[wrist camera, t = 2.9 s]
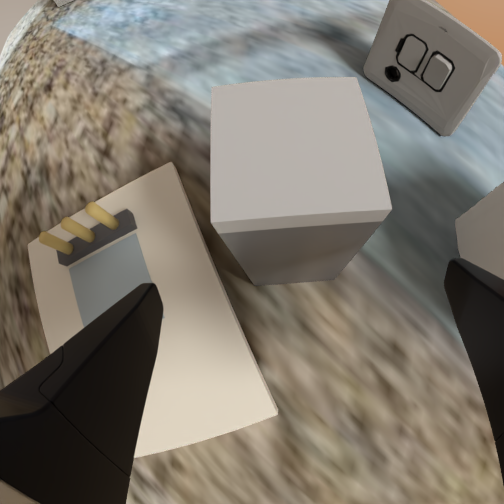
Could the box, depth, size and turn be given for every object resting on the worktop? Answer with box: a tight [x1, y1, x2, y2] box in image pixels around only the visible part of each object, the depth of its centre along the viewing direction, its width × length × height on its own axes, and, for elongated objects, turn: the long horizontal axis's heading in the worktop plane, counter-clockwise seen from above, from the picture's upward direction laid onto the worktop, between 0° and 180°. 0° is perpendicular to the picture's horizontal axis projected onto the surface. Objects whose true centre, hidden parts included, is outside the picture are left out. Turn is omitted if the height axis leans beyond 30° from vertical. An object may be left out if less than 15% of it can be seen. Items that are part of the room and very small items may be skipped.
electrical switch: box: [363, 0, 502, 136], centre depth 19 cm, size 9×5×9 cm, turn 43°
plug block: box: [210, 77, 392, 286], centre depth 15 cm, size 5×5×12 cm
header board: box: [27, 162, 278, 458], centre depth 18 cm, size 18×14×5 cm
